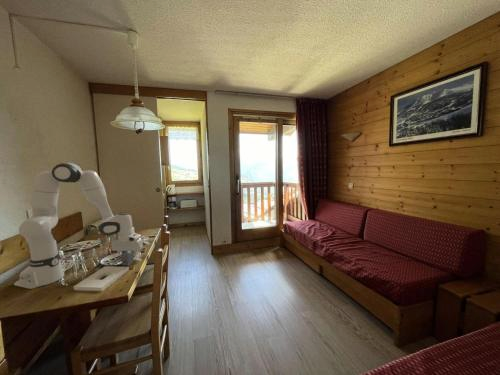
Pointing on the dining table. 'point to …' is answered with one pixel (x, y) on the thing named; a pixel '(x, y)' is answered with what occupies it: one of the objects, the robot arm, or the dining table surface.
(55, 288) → the dining table surface
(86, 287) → the pocket plate
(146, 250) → the dining table surface
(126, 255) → the servo block
